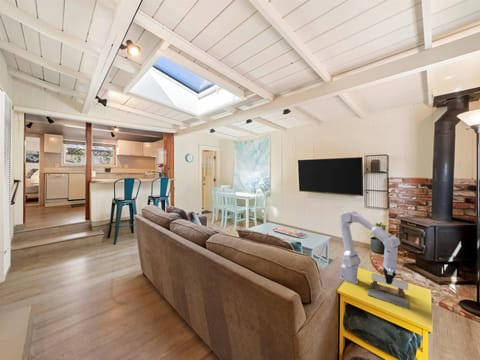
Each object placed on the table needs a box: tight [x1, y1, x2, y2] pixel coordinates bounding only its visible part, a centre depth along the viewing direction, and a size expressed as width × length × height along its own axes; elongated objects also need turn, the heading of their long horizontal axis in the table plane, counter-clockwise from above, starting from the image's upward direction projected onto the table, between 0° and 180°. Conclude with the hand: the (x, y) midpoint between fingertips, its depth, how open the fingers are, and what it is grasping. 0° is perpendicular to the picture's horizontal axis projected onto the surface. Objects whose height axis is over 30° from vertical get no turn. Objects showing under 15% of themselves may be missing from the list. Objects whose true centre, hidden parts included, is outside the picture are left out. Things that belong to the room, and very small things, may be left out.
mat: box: [367, 287, 411, 310], centre depth 110 cm, size 18×8×1 cm, turn 54°
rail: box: [370, 272, 409, 291], centre depth 109 cm, size 16×3×3 cm, turn 54°
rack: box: [370, 280, 406, 299], centre depth 117 cm, size 16×6×6 cm, turn 54°
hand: (388, 282), depth 110 cm, fingers closed on rail, 3 cm apart
